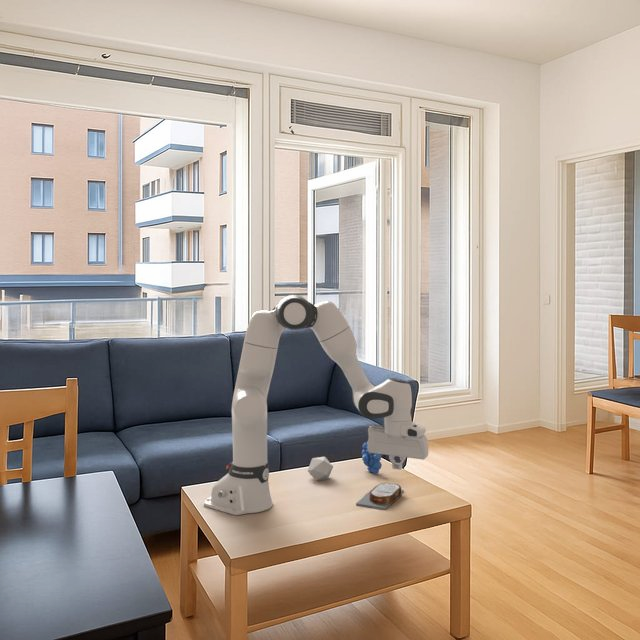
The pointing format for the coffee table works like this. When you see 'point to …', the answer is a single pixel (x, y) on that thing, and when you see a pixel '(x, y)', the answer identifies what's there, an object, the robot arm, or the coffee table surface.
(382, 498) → the tin
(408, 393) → the robot arm
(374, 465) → the grapes
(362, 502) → the mat
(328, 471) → the die
